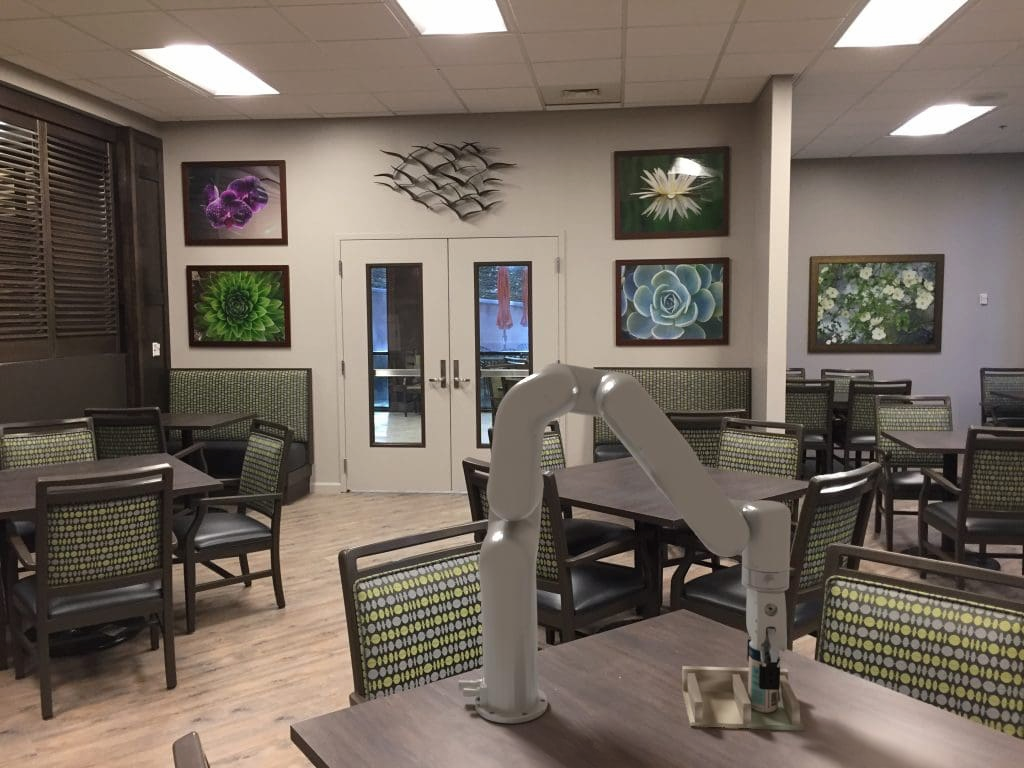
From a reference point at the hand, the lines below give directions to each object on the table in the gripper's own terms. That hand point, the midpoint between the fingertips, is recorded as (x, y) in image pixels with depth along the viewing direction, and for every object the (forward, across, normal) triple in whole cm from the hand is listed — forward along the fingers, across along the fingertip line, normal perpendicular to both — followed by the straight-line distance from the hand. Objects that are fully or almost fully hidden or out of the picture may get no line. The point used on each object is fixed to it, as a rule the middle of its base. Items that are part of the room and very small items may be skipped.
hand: (762, 675), depth 136 cm
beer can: (+6, 0, 0) cm, 6 cm away
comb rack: (+7, 0, +4) cm, 7 cm away
